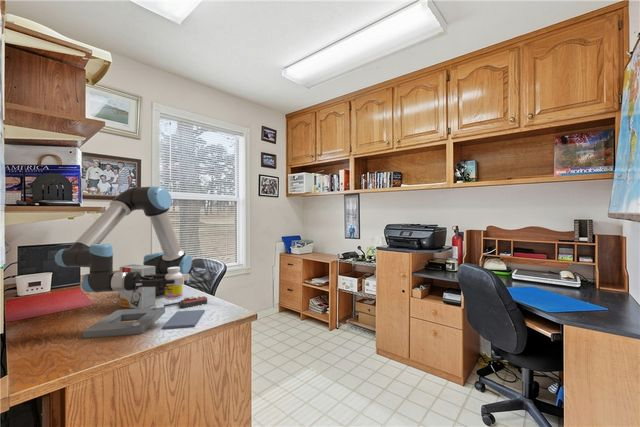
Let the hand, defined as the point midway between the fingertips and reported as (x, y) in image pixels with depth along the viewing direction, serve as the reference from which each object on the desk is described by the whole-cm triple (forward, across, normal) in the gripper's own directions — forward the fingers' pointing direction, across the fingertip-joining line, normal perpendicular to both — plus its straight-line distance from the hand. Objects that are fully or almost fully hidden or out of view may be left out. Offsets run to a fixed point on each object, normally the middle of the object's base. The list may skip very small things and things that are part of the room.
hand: (186, 278), depth 121 cm
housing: (-23, -1, -18) cm, 29 cm away
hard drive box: (-31, -26, -18) cm, 44 cm away
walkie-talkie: (-6, -22, -18) cm, 30 cm away
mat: (-1, -1, -18) cm, 18 cm away
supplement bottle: (-5, 0, -8) cm, 9 cm away
